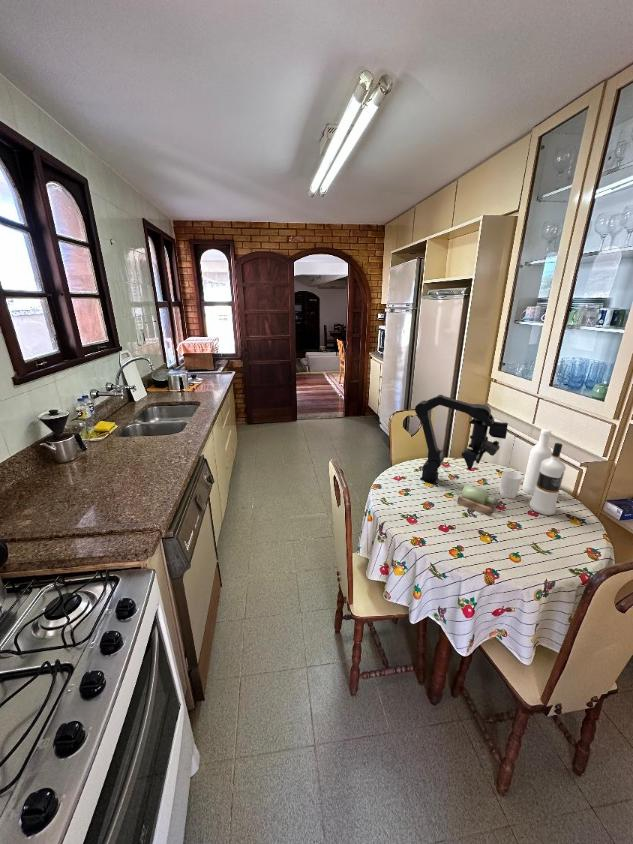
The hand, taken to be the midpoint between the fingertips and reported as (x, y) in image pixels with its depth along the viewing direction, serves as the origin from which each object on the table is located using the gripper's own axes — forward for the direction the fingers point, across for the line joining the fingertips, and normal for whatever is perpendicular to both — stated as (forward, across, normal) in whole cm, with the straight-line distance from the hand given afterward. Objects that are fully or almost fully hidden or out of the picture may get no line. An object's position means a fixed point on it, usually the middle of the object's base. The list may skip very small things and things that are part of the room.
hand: (473, 466), depth 156 cm
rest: (+12, -10, -7) cm, 17 cm away
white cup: (+12, +8, -14) cm, 20 cm away
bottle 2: (+12, +19, -21) cm, 31 cm away
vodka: (+12, +5, -28) cm, 31 cm away
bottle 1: (+11, -10, -8) cm, 17 cm away
